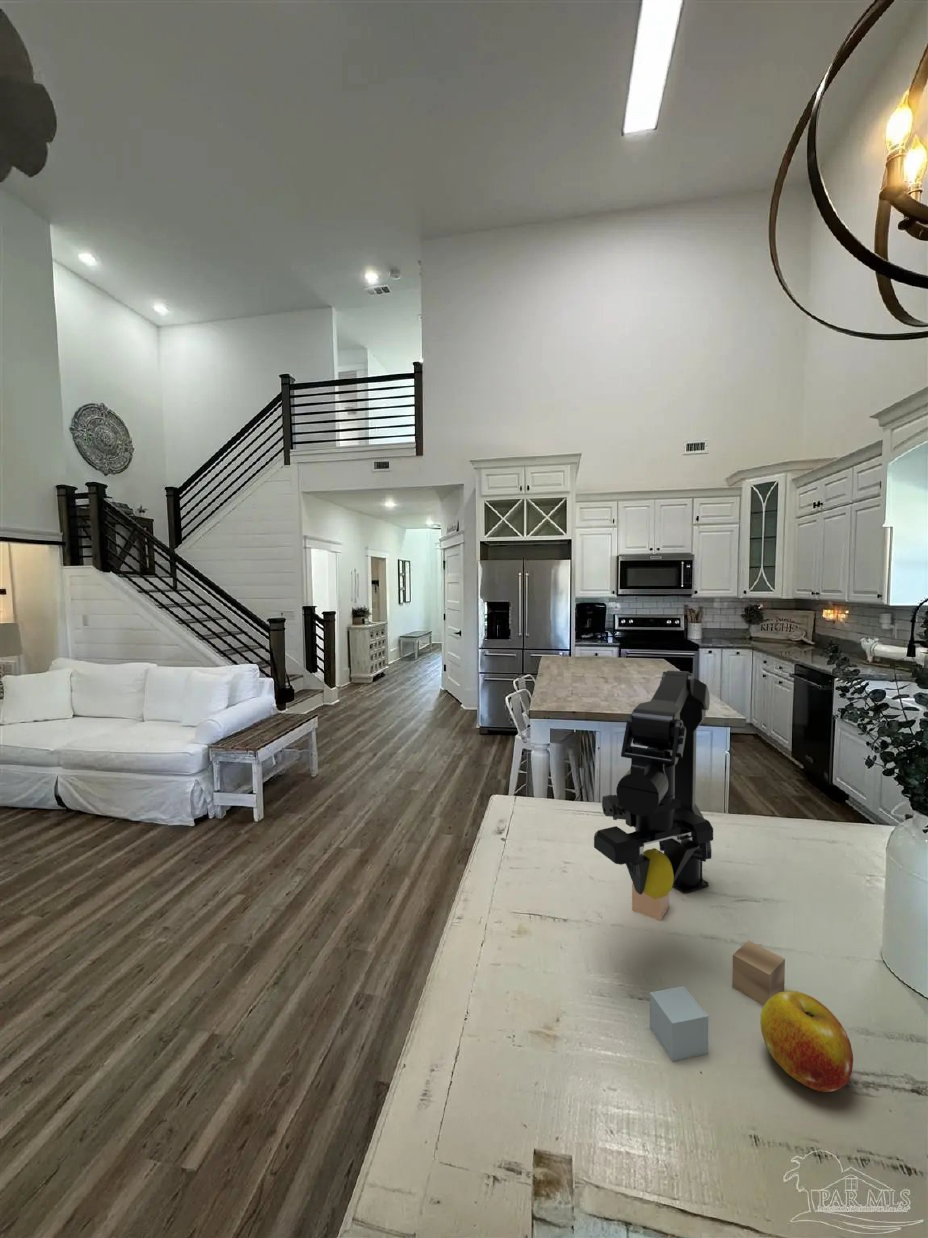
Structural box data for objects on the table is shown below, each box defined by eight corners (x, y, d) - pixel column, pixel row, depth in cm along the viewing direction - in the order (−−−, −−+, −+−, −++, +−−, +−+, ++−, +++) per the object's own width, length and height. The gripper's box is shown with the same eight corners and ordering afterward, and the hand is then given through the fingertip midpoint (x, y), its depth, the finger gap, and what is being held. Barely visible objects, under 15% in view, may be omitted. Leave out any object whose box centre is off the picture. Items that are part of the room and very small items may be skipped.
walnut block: (748, 971, 78) (748, 940, 77) (784, 992, 74) (784, 958, 73) (732, 987, 75) (732, 954, 74) (769, 1009, 71) (769, 975, 70)
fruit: (874, 1101, 58) (876, 1034, 57) (805, 1117, 56) (807, 1048, 56) (804, 1030, 67) (805, 972, 67) (743, 1042, 66) (744, 982, 65)
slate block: (683, 1021, 69) (683, 986, 69) (707, 1054, 64) (708, 1016, 64) (649, 1028, 68) (649, 992, 68) (672, 1062, 63) (672, 1023, 63)
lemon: (676, 912, 76) (677, 859, 75) (637, 908, 77) (638, 856, 77) (669, 890, 81) (669, 841, 81) (633, 887, 82) (633, 838, 82)
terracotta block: (641, 897, 97) (641, 871, 96) (668, 907, 94) (668, 880, 93) (632, 910, 93) (632, 883, 93) (660, 921, 90) (660, 893, 89)
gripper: (663, 765, 89) (663, 851, 90) (573, 781, 82) (573, 875, 83) (716, 787, 79) (715, 885, 80) (617, 809, 72) (617, 915, 73)
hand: (654, 888), depth 79 cm, fingers closed on lemon, 5 cm apart
